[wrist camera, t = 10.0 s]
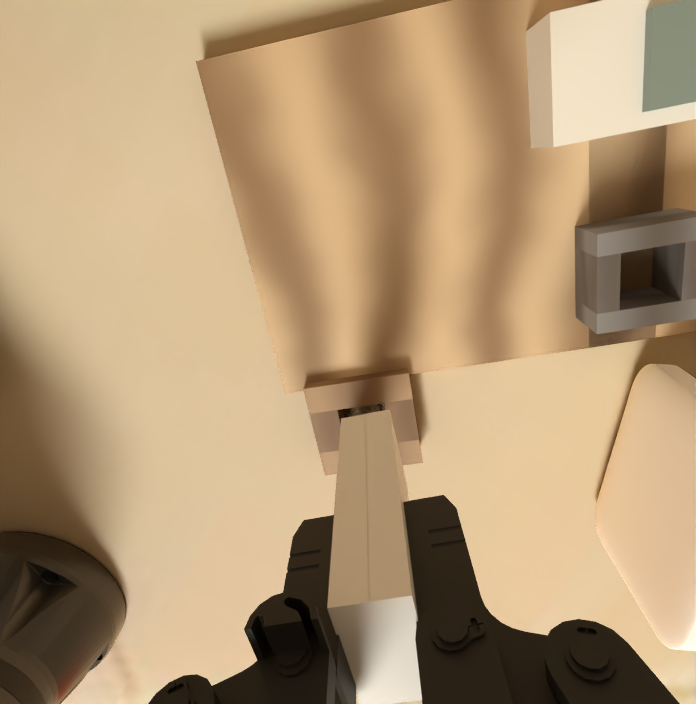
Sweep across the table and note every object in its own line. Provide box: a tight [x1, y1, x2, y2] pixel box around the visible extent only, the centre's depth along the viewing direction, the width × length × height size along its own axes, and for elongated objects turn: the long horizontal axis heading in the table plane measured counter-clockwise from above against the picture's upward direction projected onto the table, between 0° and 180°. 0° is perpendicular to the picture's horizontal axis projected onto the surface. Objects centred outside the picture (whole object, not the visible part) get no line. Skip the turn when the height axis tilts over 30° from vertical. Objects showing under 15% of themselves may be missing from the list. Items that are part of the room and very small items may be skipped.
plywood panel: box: [196, 0, 696, 393], centre depth 26 cm, size 30×20×4 cm, turn 101°
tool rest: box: [303, 368, 423, 475], centre depth 33 cm, size 7×7×2 cm
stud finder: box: [526, 0, 696, 148], centre depth 23 cm, size 8×6×4 cm
